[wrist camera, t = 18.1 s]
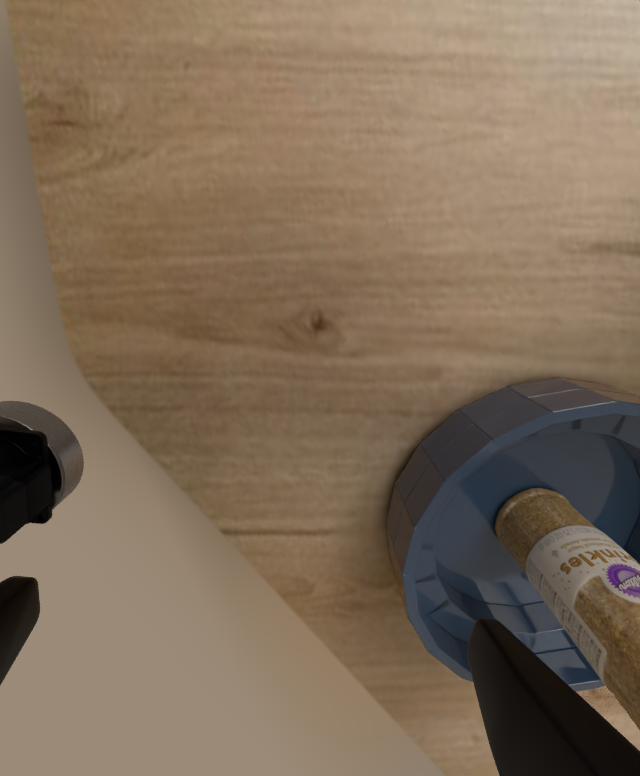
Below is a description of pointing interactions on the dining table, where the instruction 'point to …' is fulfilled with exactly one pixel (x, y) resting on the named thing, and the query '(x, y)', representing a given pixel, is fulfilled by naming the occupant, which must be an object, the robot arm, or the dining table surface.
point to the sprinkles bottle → (580, 584)
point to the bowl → (487, 496)
